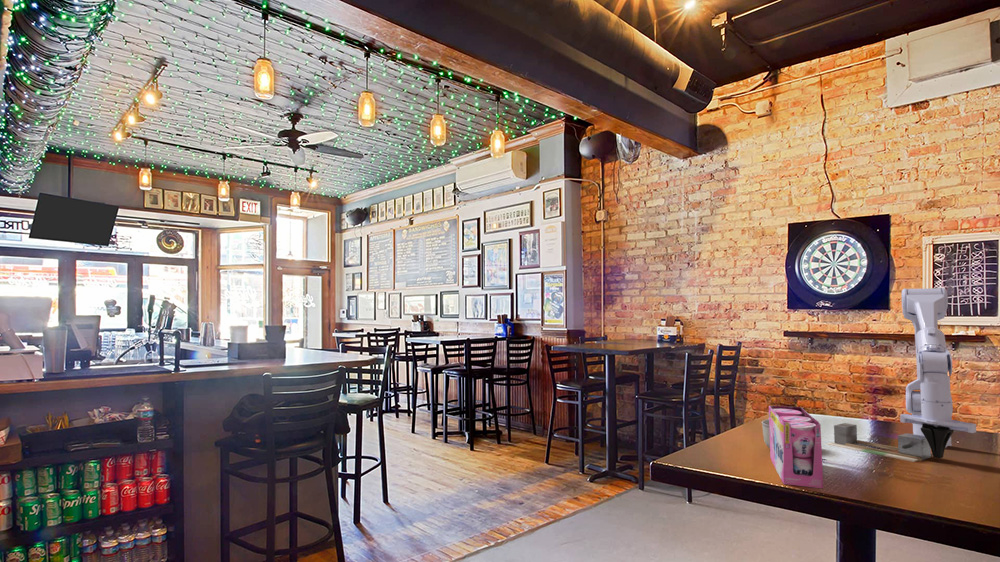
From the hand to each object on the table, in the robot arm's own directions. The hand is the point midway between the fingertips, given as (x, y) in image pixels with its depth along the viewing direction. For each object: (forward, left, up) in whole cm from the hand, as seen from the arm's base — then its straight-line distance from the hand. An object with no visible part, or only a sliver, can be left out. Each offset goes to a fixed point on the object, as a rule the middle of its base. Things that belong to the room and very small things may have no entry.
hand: (938, 457), depth 130 cm
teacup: (+17, -29, -2) cm, 34 cm away
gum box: (+34, -16, -2) cm, 38 cm away
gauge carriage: (+2, -5, -1) cm, 5 cm away
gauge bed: (0, -13, -2) cm, 13 cm away
